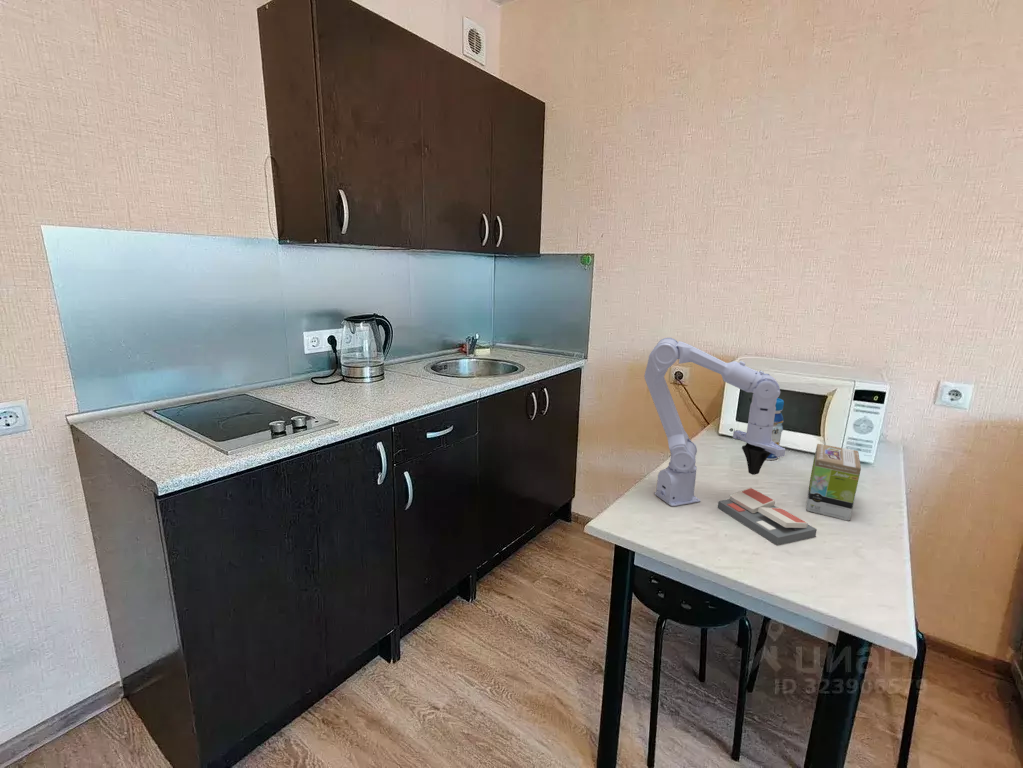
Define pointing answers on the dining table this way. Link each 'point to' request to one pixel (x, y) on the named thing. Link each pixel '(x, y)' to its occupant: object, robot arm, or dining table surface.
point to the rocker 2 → (783, 517)
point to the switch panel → (766, 524)
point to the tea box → (833, 481)
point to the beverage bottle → (777, 426)
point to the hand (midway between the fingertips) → (753, 473)
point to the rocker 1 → (751, 500)
